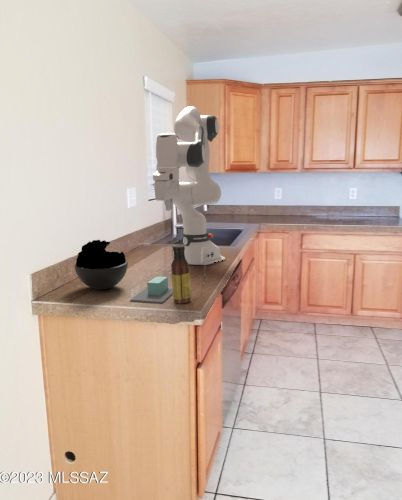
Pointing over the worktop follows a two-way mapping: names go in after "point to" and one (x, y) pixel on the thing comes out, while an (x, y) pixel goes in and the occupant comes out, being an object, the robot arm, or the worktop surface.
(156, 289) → the teal block
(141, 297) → the rubber mat
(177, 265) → the sauce bottle
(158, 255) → the worktop surface
